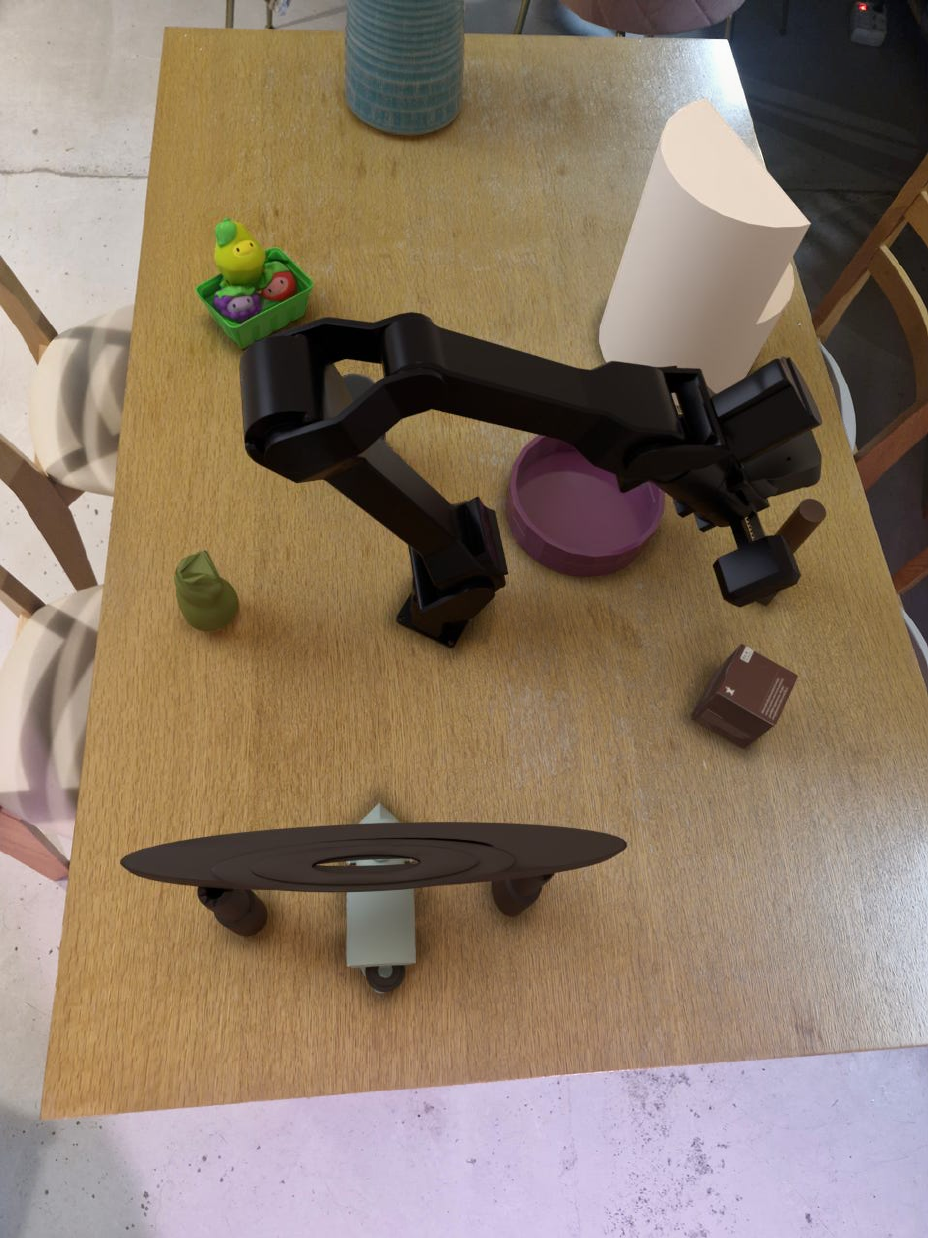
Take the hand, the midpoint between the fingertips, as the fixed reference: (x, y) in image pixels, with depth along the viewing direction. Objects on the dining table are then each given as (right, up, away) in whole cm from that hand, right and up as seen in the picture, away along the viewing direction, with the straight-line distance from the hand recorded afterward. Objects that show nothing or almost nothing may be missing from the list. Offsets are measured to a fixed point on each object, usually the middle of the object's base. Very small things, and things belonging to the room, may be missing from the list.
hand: (766, 528), depth 81 cm
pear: (-53, -8, +2) cm, 54 cm away
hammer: (+3, -4, +10) cm, 11 cm away
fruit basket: (-53, +27, +19) cm, 62 cm away
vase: (-37, +63, +38) cm, 83 cm away
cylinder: (-3, +25, +23) cm, 34 cm away
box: (-3, -18, +3) cm, 18 cm away
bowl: (-16, +3, +11) cm, 20 cm away
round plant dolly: (-36, -32, -7) cm, 49 cm away
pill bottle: (-40, +9, +12) cm, 43 cm away
